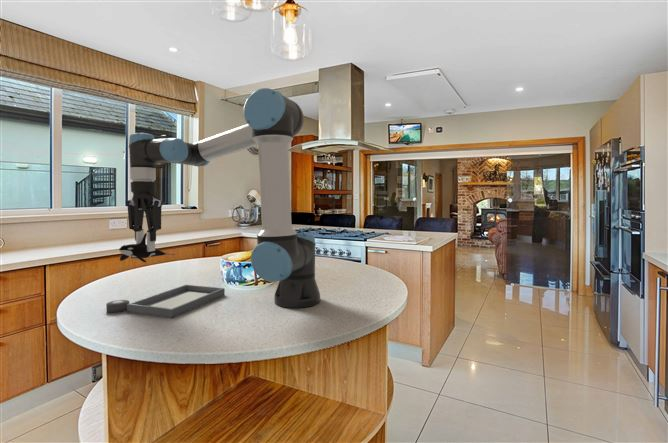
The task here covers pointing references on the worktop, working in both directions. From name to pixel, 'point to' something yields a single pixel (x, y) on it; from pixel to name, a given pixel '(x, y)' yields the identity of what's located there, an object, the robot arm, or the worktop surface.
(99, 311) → the worktop surface
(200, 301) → the frame
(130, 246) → the toy
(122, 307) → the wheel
